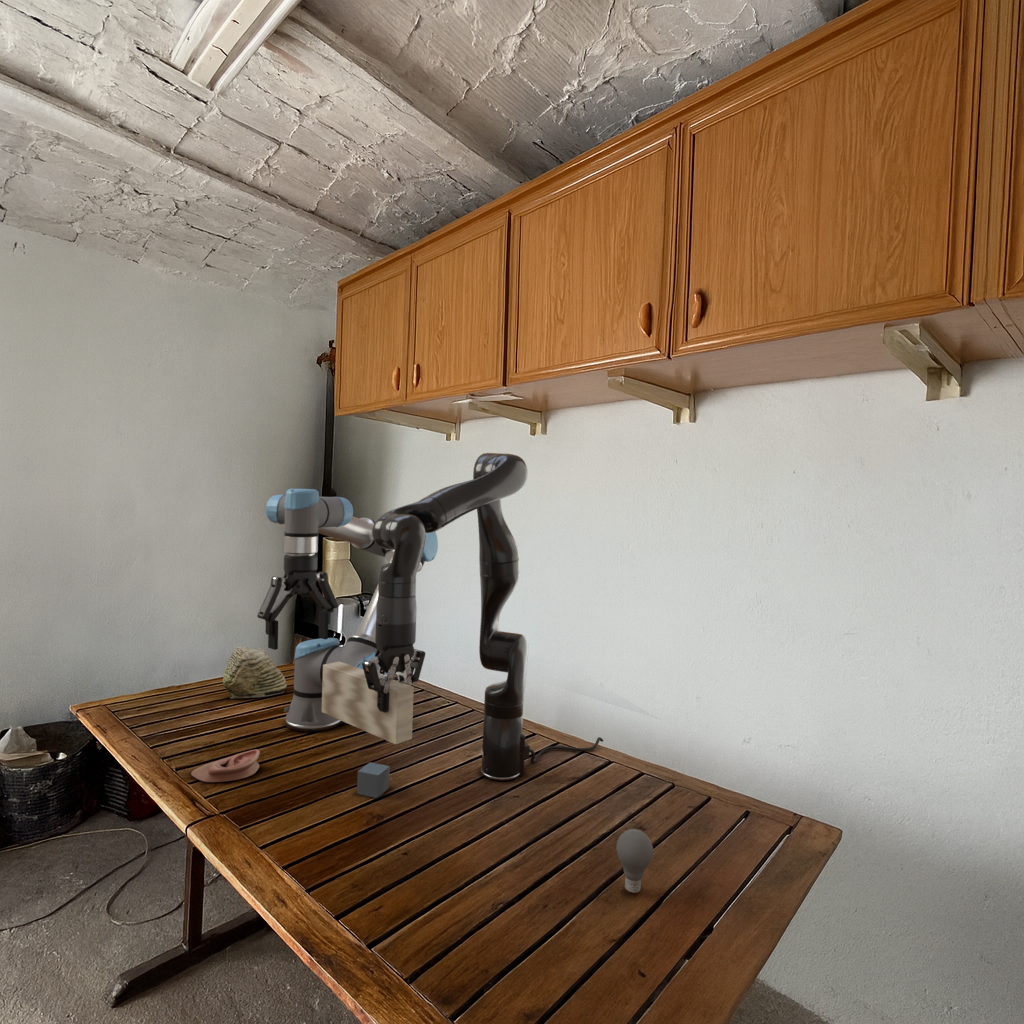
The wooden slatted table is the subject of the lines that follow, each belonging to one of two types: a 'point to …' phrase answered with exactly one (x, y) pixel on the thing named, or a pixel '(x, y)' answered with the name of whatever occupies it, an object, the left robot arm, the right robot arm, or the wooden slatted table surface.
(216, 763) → the anatomical model
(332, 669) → the ash block
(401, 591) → the right robot arm
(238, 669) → the fossil
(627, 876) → the light bulb
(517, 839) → the wooden slatted table surface
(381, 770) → the slate cube
